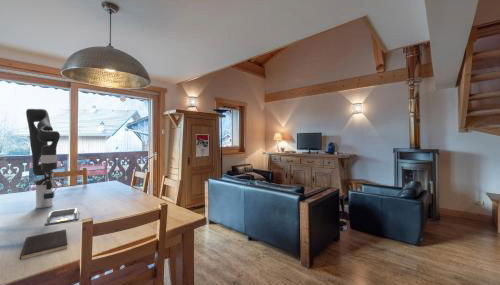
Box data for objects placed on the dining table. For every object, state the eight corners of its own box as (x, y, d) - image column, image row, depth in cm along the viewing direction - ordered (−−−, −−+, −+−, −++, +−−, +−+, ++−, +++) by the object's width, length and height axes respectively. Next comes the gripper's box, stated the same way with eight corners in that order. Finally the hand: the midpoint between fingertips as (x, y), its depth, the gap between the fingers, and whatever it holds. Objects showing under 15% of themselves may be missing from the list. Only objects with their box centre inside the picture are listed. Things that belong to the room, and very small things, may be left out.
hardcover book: (66, 233, 125) (65, 229, 125) (67, 249, 107) (67, 244, 107) (25, 241, 114) (25, 237, 114) (19, 261, 97) (19, 255, 97)
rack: (49, 216, 149) (48, 210, 148) (79, 212, 158) (79, 206, 158) (44, 225, 134) (44, 219, 134) (78, 220, 143) (78, 213, 143)
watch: (57, 197, 142) (56, 180, 142) (40, 199, 137) (39, 181, 137) (58, 195, 147) (58, 179, 146) (41, 197, 142) (41, 180, 142)
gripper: (43, 161, 145) (43, 187, 146) (38, 163, 134) (39, 191, 134) (58, 160, 150) (58, 185, 150) (55, 162, 138) (55, 190, 138)
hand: (49, 188), depth 142 cm, fingers closed on watch, 4 cm apart
